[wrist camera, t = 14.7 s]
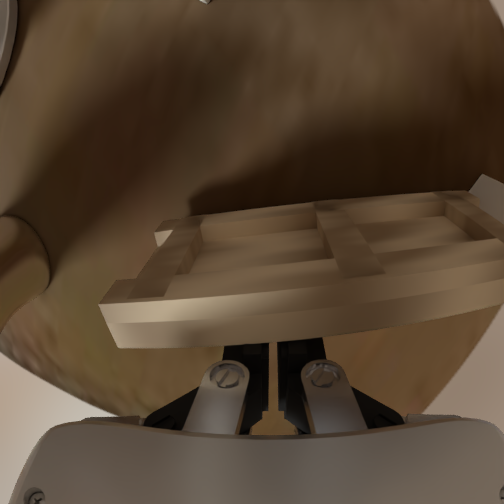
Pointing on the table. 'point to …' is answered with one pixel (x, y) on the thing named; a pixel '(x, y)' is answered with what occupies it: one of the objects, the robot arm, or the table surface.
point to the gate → (310, 271)
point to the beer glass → (20, 266)
